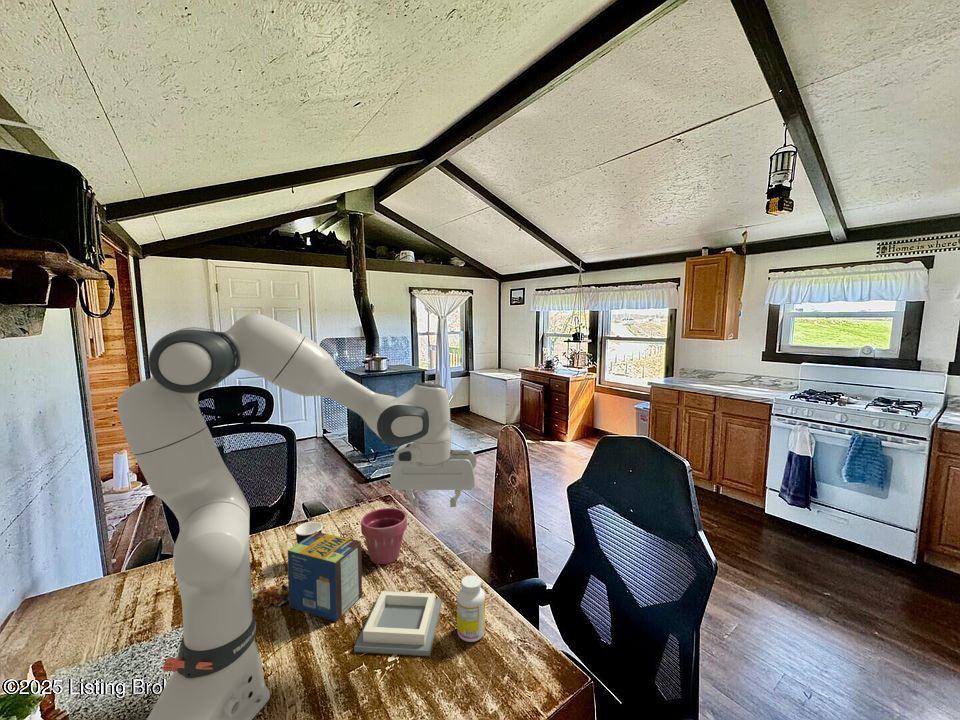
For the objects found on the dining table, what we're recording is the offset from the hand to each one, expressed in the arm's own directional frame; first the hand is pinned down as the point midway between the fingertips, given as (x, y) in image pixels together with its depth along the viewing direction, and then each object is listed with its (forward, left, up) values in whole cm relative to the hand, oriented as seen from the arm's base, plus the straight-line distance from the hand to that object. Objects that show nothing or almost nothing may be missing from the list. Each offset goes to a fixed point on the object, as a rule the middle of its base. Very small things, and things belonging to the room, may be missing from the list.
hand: (434, 506), depth 95 cm
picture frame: (-2, +8, -30) cm, 30 cm away
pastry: (+6, +45, -30) cm, 55 cm away
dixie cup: (+22, +43, -30) cm, 57 cm away
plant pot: (+27, +21, -30) cm, 45 cm away
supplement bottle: (-3, -9, -30) cm, 31 cm away
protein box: (+5, +30, -30) cm, 42 cm away
